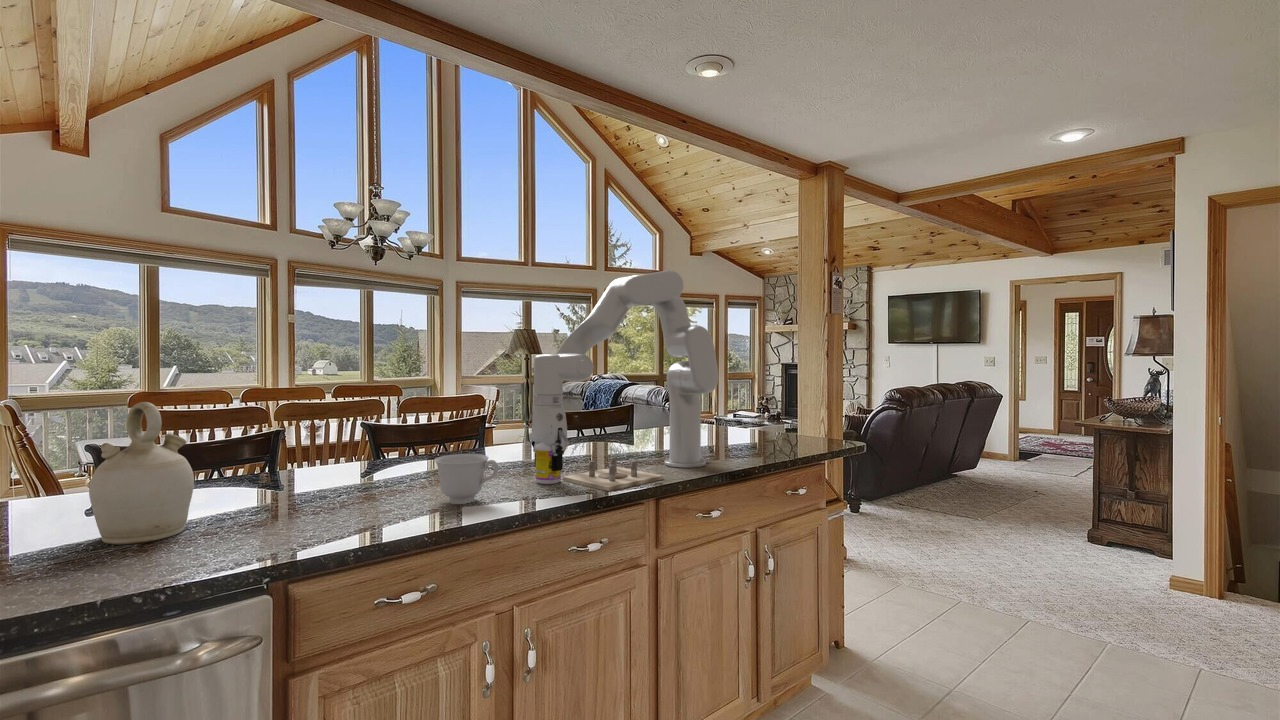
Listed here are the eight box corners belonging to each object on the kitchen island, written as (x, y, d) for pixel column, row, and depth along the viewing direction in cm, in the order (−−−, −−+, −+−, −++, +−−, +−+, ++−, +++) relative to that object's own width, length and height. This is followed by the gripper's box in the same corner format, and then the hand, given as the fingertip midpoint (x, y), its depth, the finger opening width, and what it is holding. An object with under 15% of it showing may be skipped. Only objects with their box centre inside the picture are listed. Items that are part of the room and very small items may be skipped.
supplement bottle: (548, 485, 158) (548, 436, 158) (530, 482, 162) (530, 433, 162) (566, 481, 164) (566, 433, 164) (548, 478, 168) (548, 431, 168)
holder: (617, 470, 180) (617, 453, 179) (662, 479, 167) (662, 460, 167) (562, 480, 165) (562, 461, 165) (608, 491, 153) (608, 471, 153)
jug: (181, 519, 127) (179, 397, 126) (205, 533, 117) (204, 401, 117) (81, 536, 115) (80, 402, 115) (99, 553, 105) (98, 407, 105)
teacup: (486, 510, 134) (486, 464, 134) (423, 506, 137) (423, 461, 137) (508, 497, 146) (508, 455, 146) (450, 494, 149) (450, 452, 149)
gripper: (580, 402, 159) (580, 471, 160) (540, 398, 172) (540, 462, 172) (557, 404, 154) (557, 475, 154) (517, 400, 166) (517, 466, 166)
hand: (548, 468), depth 163 cm, fingers closed on supplement bottle, 6 cm apart
